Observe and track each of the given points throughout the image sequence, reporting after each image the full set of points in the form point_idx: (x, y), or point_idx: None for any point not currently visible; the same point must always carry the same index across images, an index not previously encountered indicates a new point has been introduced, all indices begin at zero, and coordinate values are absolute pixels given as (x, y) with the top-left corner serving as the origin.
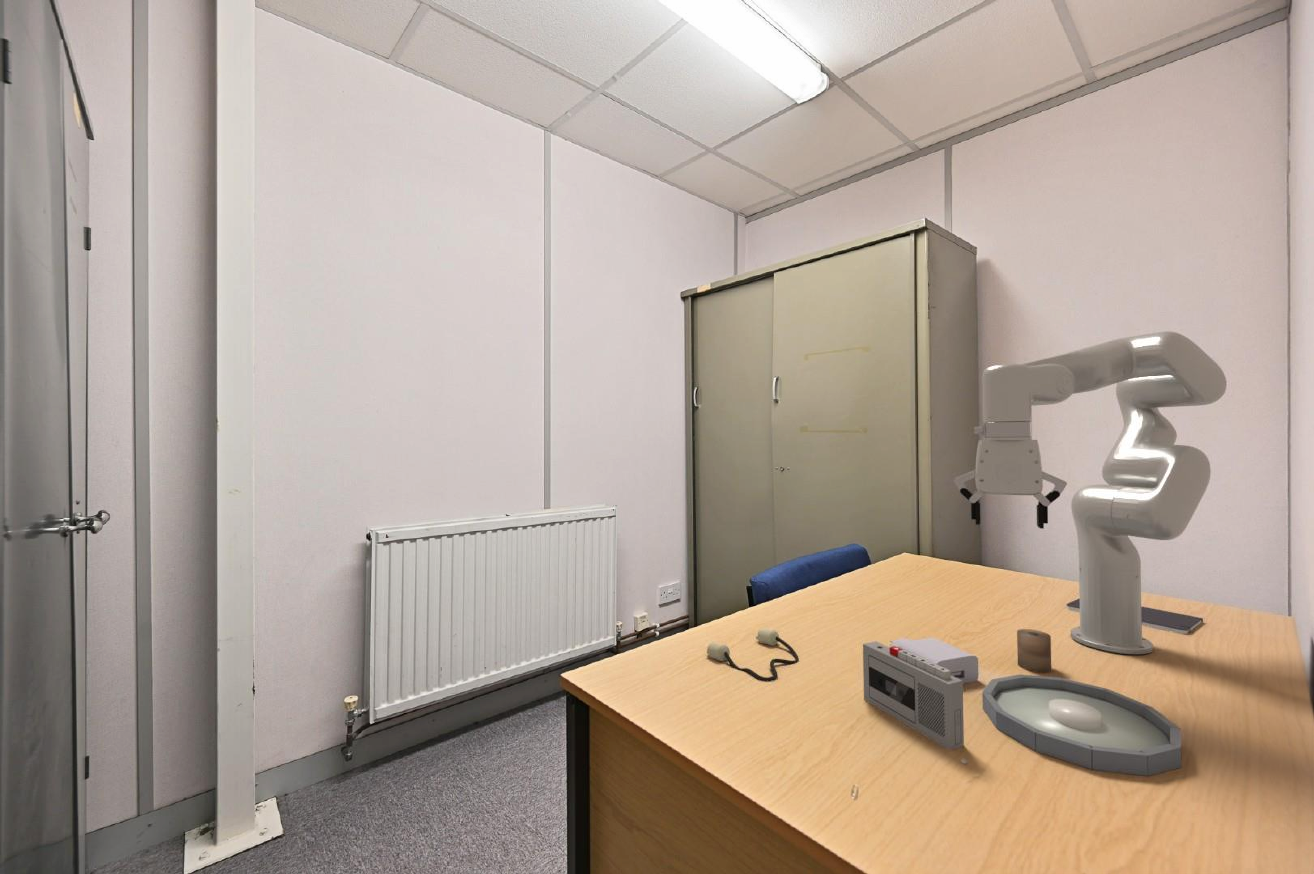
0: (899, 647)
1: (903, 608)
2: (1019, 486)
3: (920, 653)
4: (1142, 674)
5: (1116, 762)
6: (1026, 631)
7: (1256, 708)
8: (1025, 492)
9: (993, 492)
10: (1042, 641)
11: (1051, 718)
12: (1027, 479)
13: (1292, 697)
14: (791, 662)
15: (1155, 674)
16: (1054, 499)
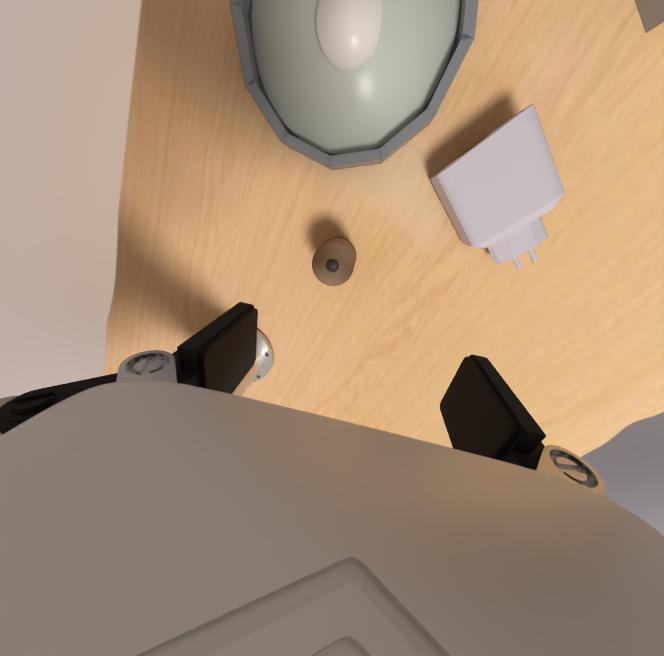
0: (562, 187)
1: (439, 420)
2: (234, 471)
3: (543, 149)
4: (231, 266)
5: None
6: (339, 273)
7: (152, 199)
8: (215, 399)
9: (502, 461)
10: (327, 243)
11: (382, 14)
12: (18, 592)
13: (121, 243)
14: None
15: (219, 270)
16: (87, 382)
